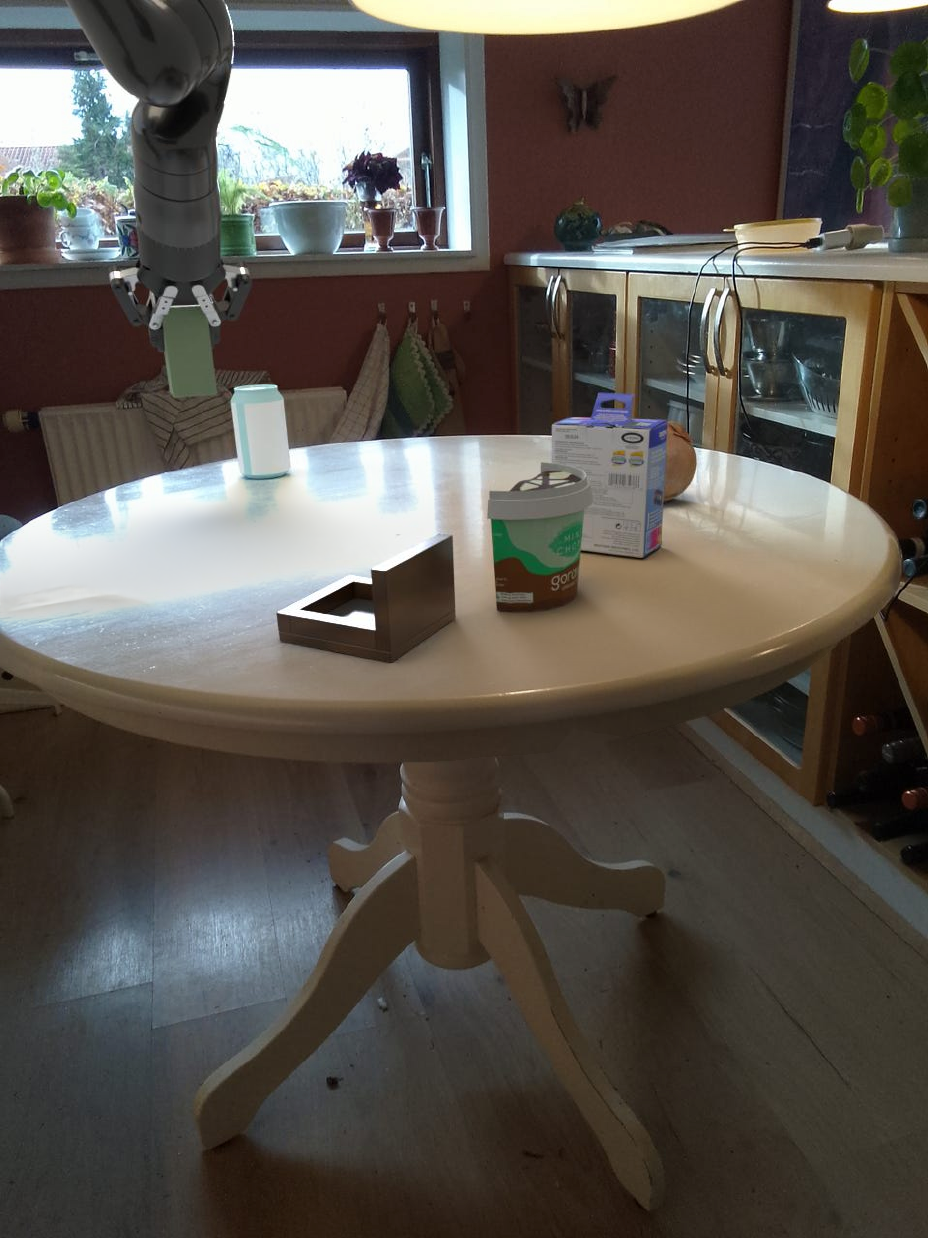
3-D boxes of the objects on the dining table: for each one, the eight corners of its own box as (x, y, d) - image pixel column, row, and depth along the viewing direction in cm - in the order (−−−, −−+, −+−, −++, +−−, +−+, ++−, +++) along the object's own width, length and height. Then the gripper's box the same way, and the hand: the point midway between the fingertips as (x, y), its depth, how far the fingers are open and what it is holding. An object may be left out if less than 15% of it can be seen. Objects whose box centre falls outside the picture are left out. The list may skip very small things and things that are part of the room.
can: (264, 467, 129) (254, 382, 125) (301, 471, 126) (292, 384, 121) (229, 477, 124) (217, 388, 119) (266, 481, 120) (256, 390, 116)
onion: (680, 521, 106) (724, 445, 103) (652, 518, 98) (698, 435, 95) (617, 484, 110) (656, 409, 107) (584, 478, 102) (626, 397, 99)
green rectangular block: (174, 397, 94) (160, 307, 91) (170, 392, 99) (157, 306, 95) (217, 394, 96) (206, 305, 92) (211, 389, 100) (200, 304, 97)
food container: (563, 626, 68) (564, 498, 64) (489, 616, 70) (486, 492, 67) (609, 577, 78) (612, 464, 75) (543, 570, 81) (543, 460, 77)
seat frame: (279, 641, 67) (269, 554, 65) (351, 601, 75) (345, 522, 72) (391, 663, 63) (385, 571, 60) (456, 618, 70) (452, 535, 68)
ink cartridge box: (664, 545, 87) (672, 393, 82) (646, 560, 83) (653, 401, 77) (570, 534, 92) (572, 389, 86) (548, 548, 87) (548, 397, 82)
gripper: (248, 185, 86) (244, 314, 101) (90, 185, 81) (110, 320, 96) (264, 243, 83) (257, 367, 98) (101, 247, 78) (120, 376, 93)
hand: (184, 343), depth 97 cm, fingers closed on green rectangular block, 4 cm apart
